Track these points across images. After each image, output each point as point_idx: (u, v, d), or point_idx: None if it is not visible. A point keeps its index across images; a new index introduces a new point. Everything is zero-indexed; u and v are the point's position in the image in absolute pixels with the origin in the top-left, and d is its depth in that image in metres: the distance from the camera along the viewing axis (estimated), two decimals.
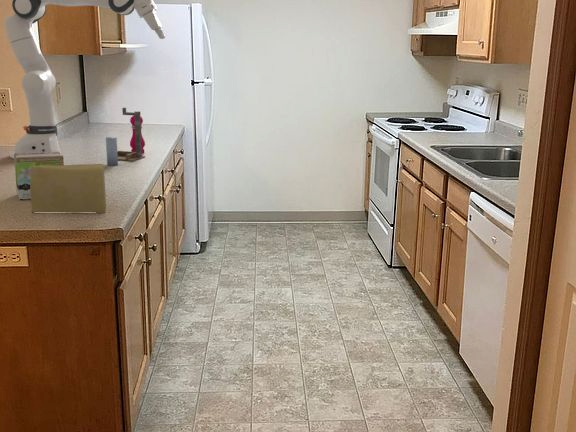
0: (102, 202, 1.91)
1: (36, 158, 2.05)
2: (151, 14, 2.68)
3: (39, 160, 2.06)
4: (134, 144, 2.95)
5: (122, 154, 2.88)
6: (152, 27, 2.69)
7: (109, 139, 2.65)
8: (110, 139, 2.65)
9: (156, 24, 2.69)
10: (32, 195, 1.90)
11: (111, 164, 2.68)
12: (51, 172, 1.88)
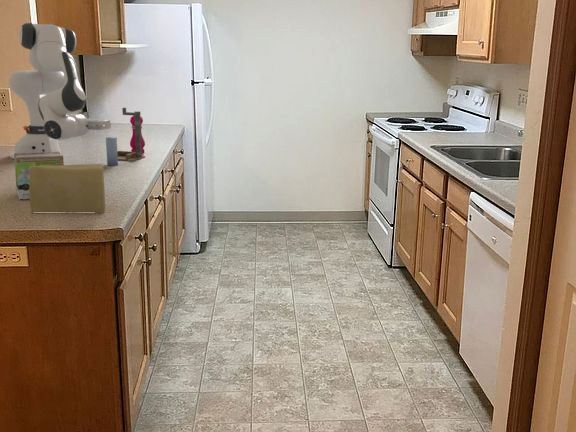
0: (101, 202, 1.91)
1: (36, 158, 2.05)
2: None
3: (39, 161, 2.06)
4: (134, 144, 2.95)
5: (122, 154, 2.88)
6: None
7: (109, 139, 2.65)
8: (110, 139, 2.65)
9: None
10: (31, 195, 1.89)
11: (111, 164, 2.68)
12: (50, 172, 1.87)
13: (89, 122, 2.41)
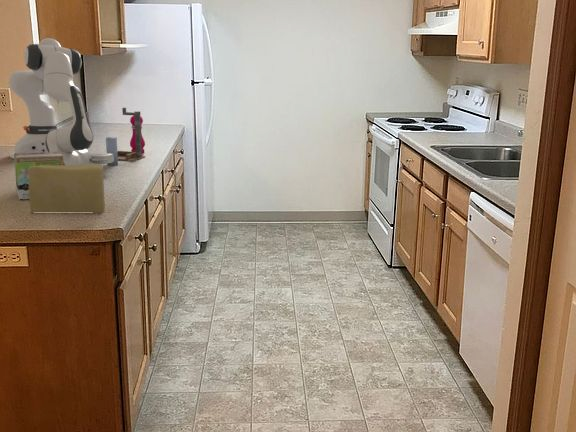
0: (100, 202, 1.91)
1: (36, 158, 2.05)
2: None
3: (39, 160, 2.06)
4: (134, 144, 2.95)
5: (122, 154, 2.88)
6: None
7: (109, 139, 2.65)
8: (110, 139, 2.65)
9: None
10: (31, 195, 1.89)
11: (111, 164, 2.68)
12: (49, 172, 1.87)
13: (93, 156, 2.46)
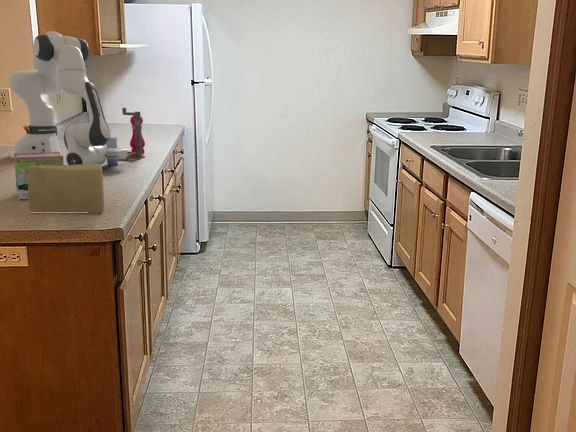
0: (100, 202, 1.91)
1: (36, 158, 2.05)
2: None
3: (39, 161, 2.06)
4: (134, 144, 2.95)
5: None
6: None
7: (109, 139, 2.65)
8: (110, 139, 2.65)
9: None
10: (30, 195, 1.89)
11: (111, 164, 2.68)
12: (48, 172, 1.87)
13: (107, 152, 2.57)
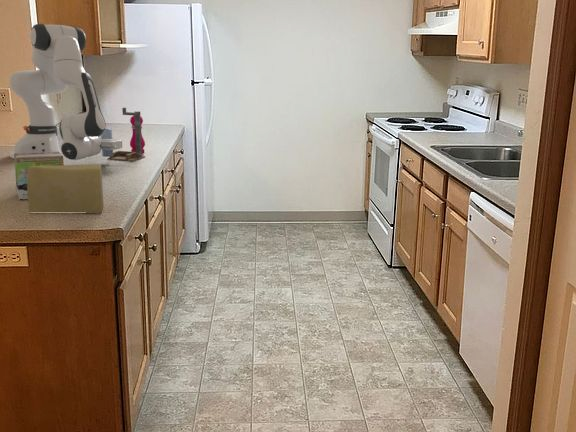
0: (99, 202, 1.91)
1: (36, 158, 2.05)
2: None
3: (39, 161, 2.06)
4: (134, 144, 2.95)
5: (122, 154, 2.88)
6: None
7: (104, 130, 2.67)
8: (105, 130, 2.67)
9: None
10: (29, 195, 1.89)
11: (106, 155, 2.70)
12: (48, 172, 1.87)
13: (102, 142, 2.59)
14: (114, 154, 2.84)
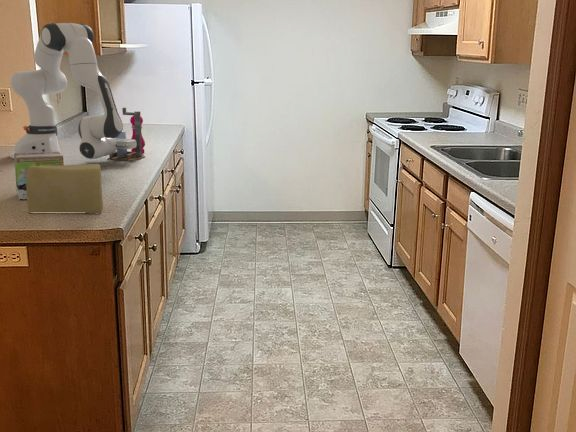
0: (98, 202, 1.91)
1: (36, 158, 2.05)
2: None
3: (39, 161, 2.06)
4: None
5: None
6: None
7: None
8: None
9: None
10: (28, 195, 1.89)
11: (121, 156, 2.82)
12: (47, 172, 1.87)
13: (118, 142, 2.71)
14: (114, 154, 2.84)
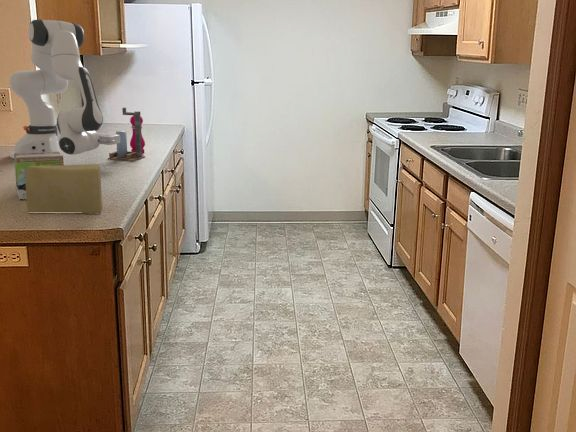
0: (97, 202, 1.91)
1: (36, 158, 2.05)
2: None
3: (39, 161, 2.06)
4: (134, 144, 2.95)
5: None
6: None
7: (119, 133, 2.79)
8: (120, 133, 2.79)
9: None
10: (28, 195, 1.89)
11: (121, 157, 2.82)
12: (46, 172, 1.87)
13: (100, 137, 2.58)
14: (114, 154, 2.84)
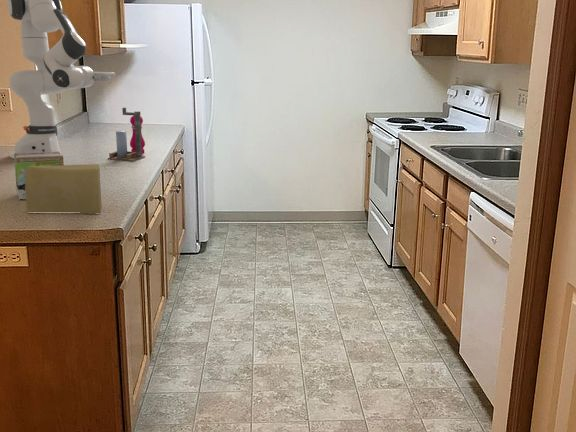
0: (97, 203, 1.91)
1: (36, 158, 2.05)
2: None
3: (39, 161, 2.06)
4: (134, 144, 2.95)
5: None
6: None
7: (119, 133, 2.79)
8: (120, 133, 2.79)
9: None
10: (27, 195, 1.89)
11: (121, 157, 2.82)
12: (45, 172, 1.87)
13: (95, 74, 2.53)
14: (114, 154, 2.84)
